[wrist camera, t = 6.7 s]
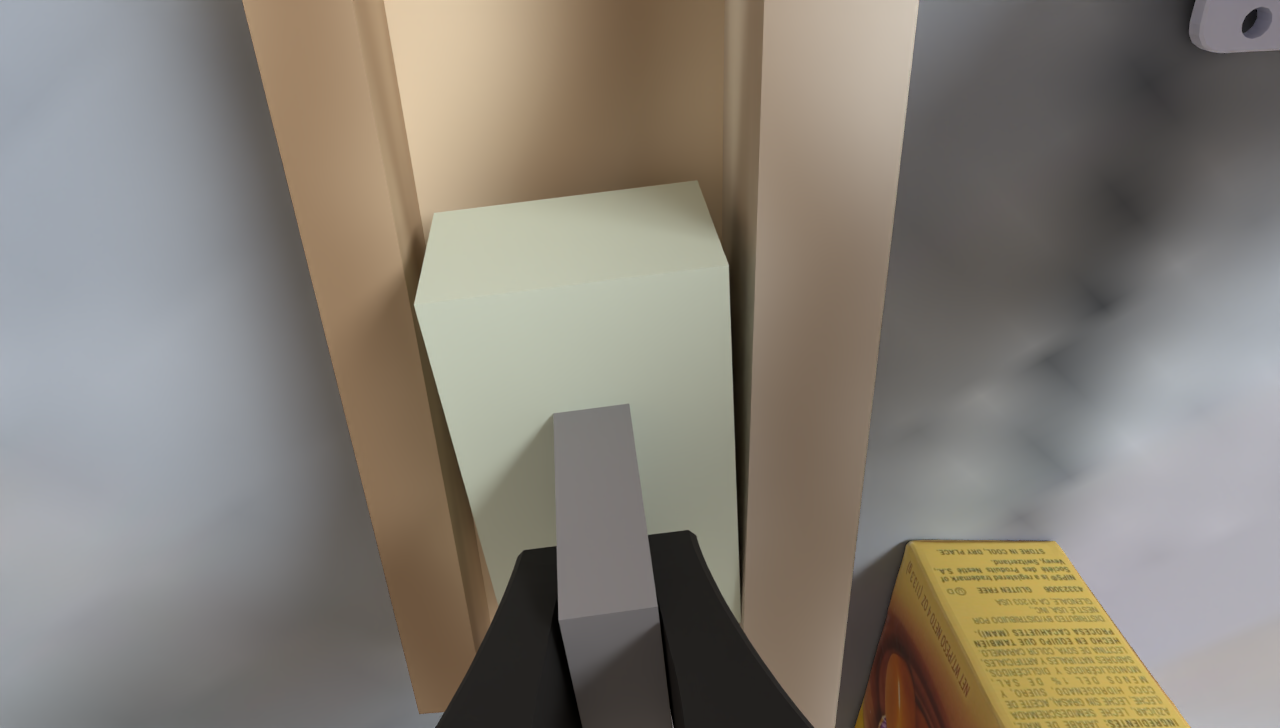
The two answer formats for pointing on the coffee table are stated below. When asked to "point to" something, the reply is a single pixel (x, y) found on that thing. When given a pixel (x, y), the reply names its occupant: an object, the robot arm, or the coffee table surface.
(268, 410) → the coffee table surface
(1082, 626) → the candy box
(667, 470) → the slab with grey handle
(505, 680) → the robot arm
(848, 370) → the board
